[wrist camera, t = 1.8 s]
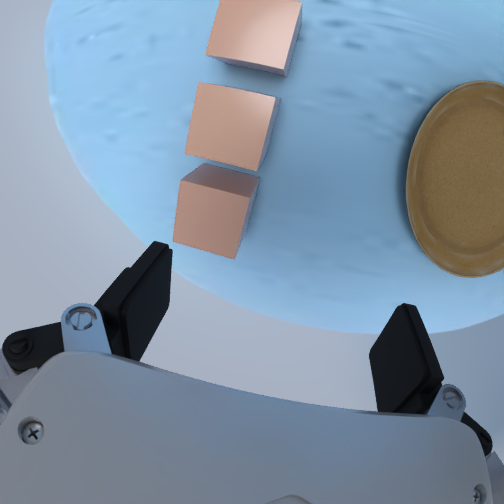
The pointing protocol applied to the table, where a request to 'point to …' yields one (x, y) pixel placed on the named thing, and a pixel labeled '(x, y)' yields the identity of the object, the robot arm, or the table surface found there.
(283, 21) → the peach toy brick
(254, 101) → the toy block
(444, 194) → the plant saucer
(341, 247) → the table surface
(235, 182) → the salmon orange block
